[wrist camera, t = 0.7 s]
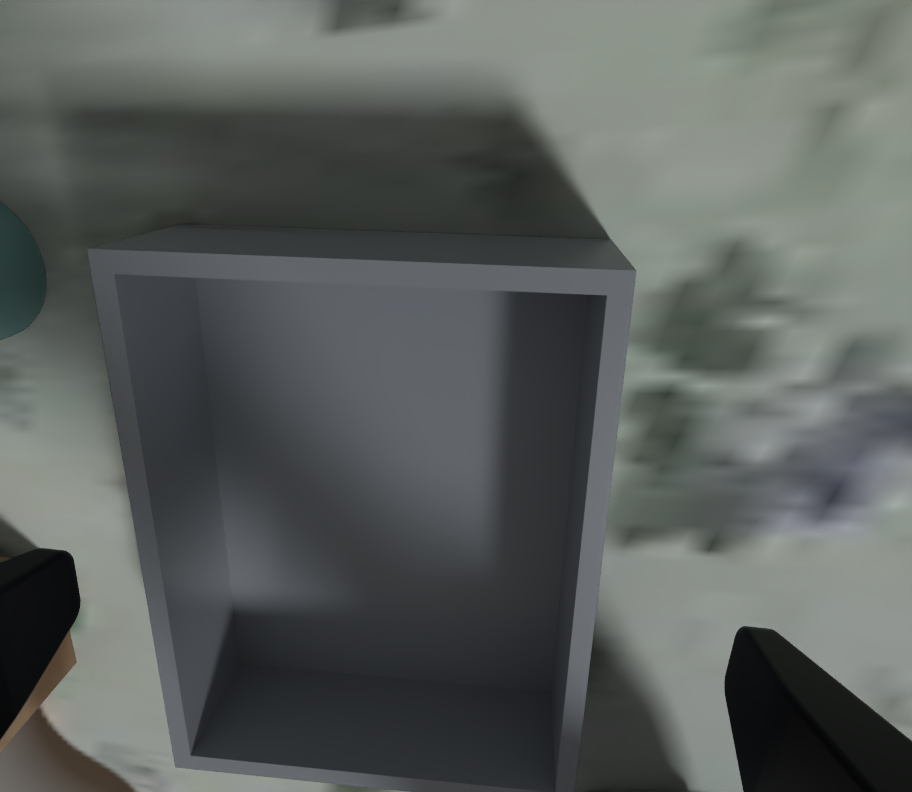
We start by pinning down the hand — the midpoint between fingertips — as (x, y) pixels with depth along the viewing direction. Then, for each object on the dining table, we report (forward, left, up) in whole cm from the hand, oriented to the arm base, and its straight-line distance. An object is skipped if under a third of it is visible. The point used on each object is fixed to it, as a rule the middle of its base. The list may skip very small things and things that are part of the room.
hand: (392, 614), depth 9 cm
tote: (-5, +3, -14) cm, 15 cm away
